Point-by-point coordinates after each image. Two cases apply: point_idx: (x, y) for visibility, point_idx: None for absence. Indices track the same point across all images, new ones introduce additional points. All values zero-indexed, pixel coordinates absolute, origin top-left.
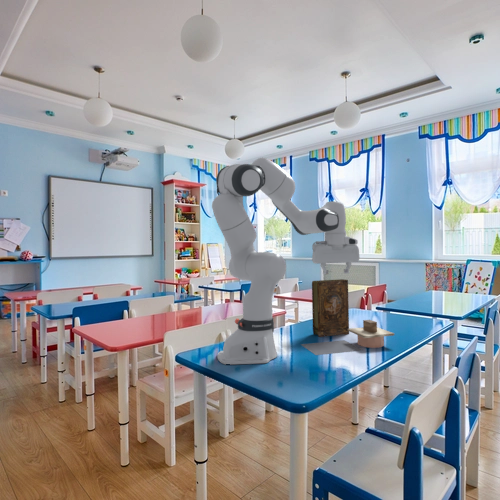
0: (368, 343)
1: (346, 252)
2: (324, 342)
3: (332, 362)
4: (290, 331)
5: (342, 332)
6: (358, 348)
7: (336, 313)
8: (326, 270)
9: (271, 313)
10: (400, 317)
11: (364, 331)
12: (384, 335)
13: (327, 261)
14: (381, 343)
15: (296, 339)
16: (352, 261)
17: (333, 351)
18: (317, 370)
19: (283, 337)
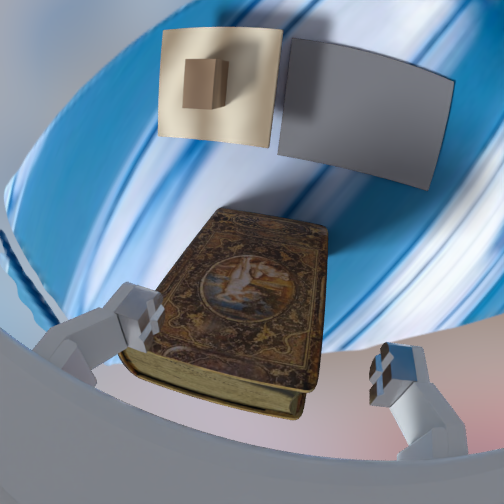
0: None
1: (8, 501)
2: (353, 166)
3: (439, 20)
4: (346, 317)
5: (238, 215)
6: (297, 58)
7: (242, 254)
8: (413, 378)
9: None
10: (49, 271)
11: (237, 84)
12: (201, 27)
13: (437, 480)
14: None
15: (392, 248)
16: (10, 344)
17: (391, 74)
18: (493, 13)
19: (405, 281)
